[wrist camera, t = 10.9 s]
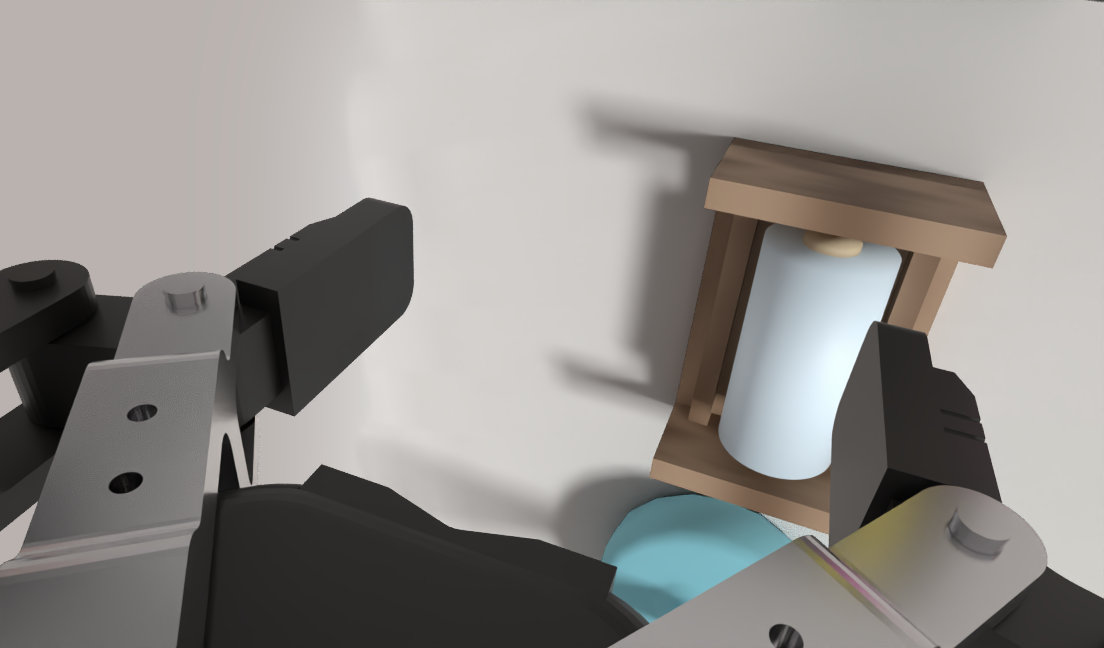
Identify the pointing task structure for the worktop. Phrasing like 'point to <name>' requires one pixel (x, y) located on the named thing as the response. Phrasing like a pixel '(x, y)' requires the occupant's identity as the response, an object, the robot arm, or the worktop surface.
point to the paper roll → (801, 346)
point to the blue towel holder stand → (684, 550)
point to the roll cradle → (739, 226)
